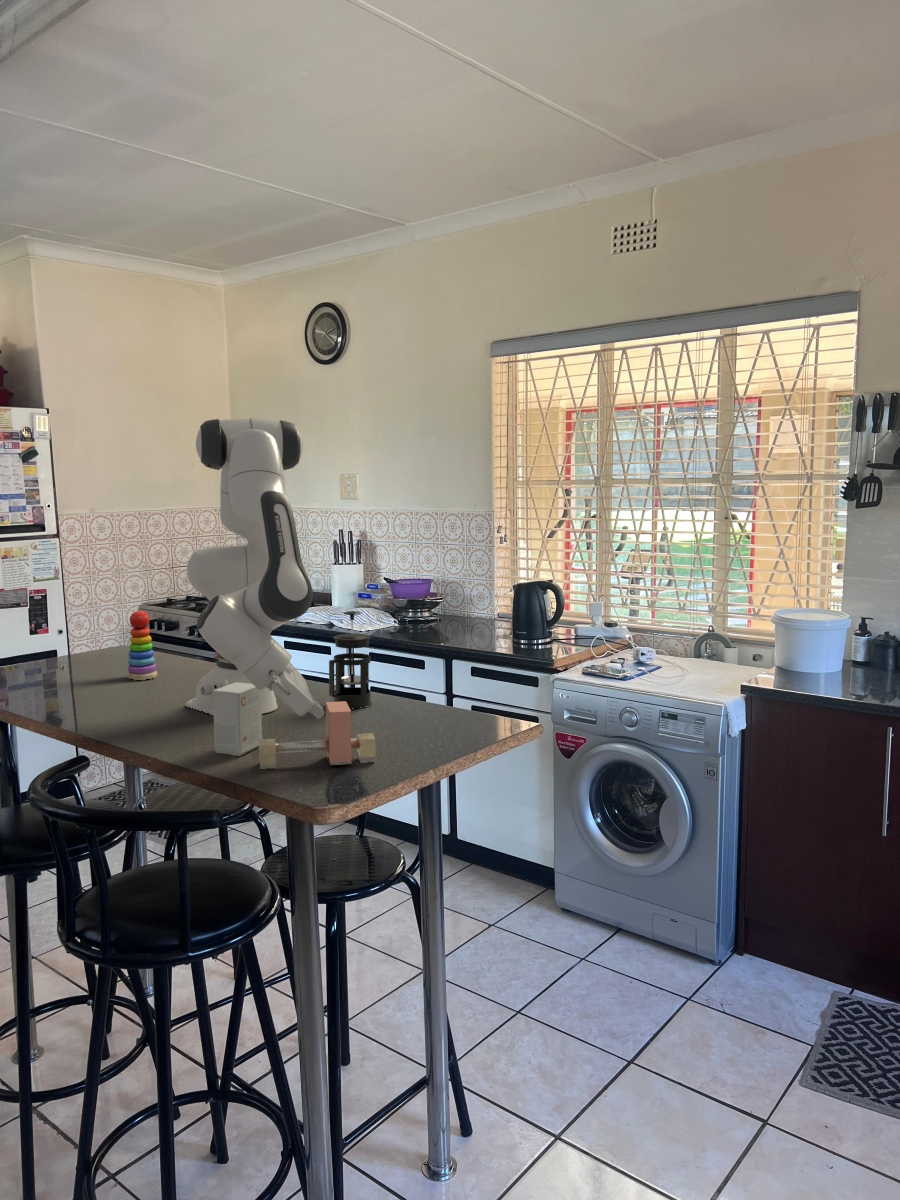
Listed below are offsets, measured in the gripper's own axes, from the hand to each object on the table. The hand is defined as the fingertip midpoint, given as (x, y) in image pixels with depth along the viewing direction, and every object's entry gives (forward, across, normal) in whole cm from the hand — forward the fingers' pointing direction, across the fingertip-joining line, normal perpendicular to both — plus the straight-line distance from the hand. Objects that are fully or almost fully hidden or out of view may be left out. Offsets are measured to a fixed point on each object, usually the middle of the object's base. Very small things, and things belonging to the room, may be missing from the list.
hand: (321, 714), depth 173 cm
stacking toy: (-22, +86, +36) cm, 95 cm away
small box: (-4, +12, +18) cm, 22 cm away
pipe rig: (+6, 0, +7) cm, 10 cm away
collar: (+9, 0, +4) cm, 10 cm away
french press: (+15, +44, -1) cm, 47 cm away
